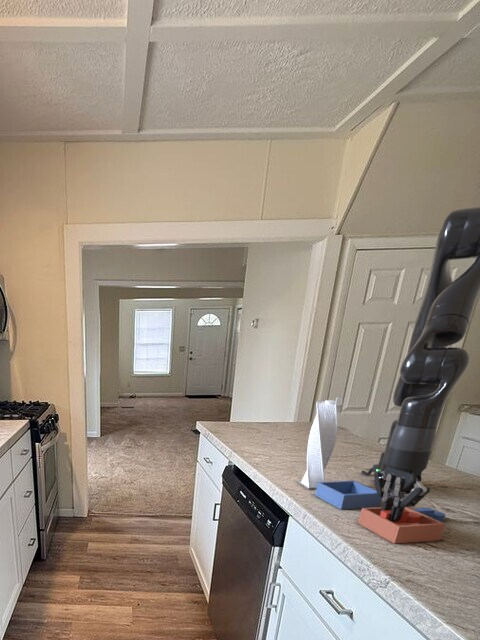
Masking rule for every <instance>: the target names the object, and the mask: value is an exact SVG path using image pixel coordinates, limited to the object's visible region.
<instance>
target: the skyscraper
mask: <svg viewBox="0 0 480 640" xmlns="http://www.w3.org/2000/svg"><path fill="white" fill-rule="evenodd" d="M339 399H340V403H339V402H338V401H339ZM315 403H316V404H315V405H316V415H315V417H314V420H313V423H312V425H311V428H310V431H309V435H308V442H307V449H306V451H307V452H306V471H305V473H304V475H303V477H302V479H301V480H298V483H299V484H300V485H301V486H303V487H304V488H306V489H308V490H316V489H317V484H318V482H326V479H325V470H326V468H327V466H328V464H329V462H330V460H331V457H332V454H333V452H334V449H335V446H336V442H337V438H338V428H339V419H338V418H339V411H340V409H341V408H342V406H343V404H344V403H343V398H342V396H339V395H338V396H337V397H335V400H333V399H326V400H323V399H320V400H318V401H316V402H315Z"/></svg>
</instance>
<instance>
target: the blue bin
mask: <svg viewBox="0 0 480 640" xmlns="http://www.w3.org/2000/svg"><path fill="white" fill-rule="evenodd" d="M314 496H315V497H317V498H319V499H321V500H323V501H325V503H326V502H327V503H328V504H330V505H331V506H334V507H336V508H338V509H340V510H353V509H356V510H357V509H362V508H374V507H381V503H382V498H381V497H378V496H377V491H376V489H375V488H372V487H370V486H368V485H365V484H364V483H363V484H362V483H360V482H358V481H356V480H339V481H337V480H336V481H325V482H318V484H317V489H315V494H314Z"/></svg>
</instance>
